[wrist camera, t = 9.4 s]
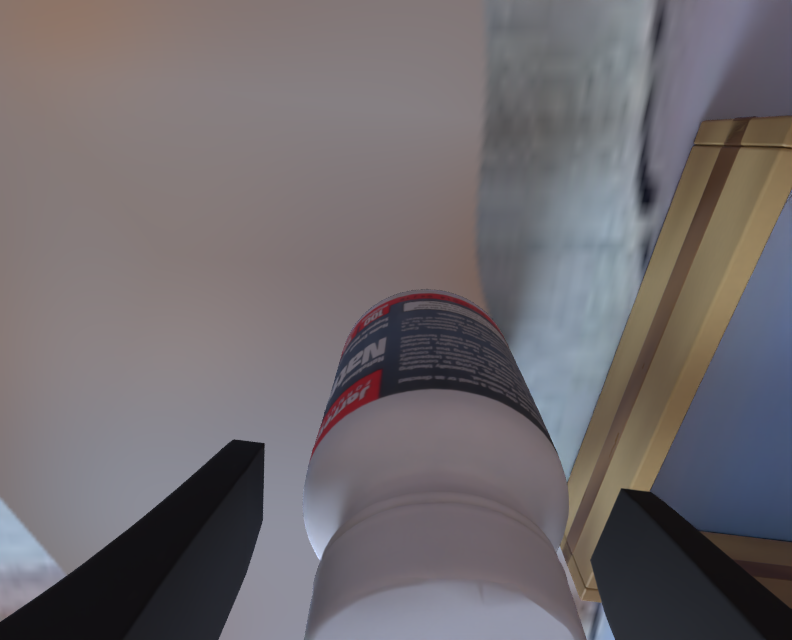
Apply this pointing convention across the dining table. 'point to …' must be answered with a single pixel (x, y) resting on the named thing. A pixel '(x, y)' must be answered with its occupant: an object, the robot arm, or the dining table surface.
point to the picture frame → (683, 336)
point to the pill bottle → (435, 486)
